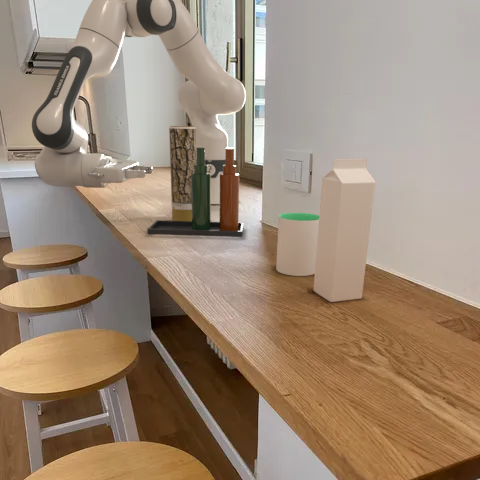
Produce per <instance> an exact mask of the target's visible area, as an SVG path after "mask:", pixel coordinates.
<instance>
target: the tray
mask: <svg viewBox="0 0 480 480" xmlns="http://www.w3.org/2000/svg"><path fill="white" fill-rule="evenodd" d="M244 227H245V223H244V222H238V231H219V221H211V230H192V221H172V220H161V219H160V220H159V219H157V220H155V221H154V222H152V224H151V225H150V226H149V227H148V228H147V230H146V231H147V235H162V236H163V235H165V236H167V235H168V236H195V237H197V236H199V237H200V236H201V237H232V238H233V237H236V238H243V234H244Z"/></svg>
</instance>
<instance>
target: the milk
mask: <svg viewBox="0 0 480 480" xmlns="http://www.w3.org/2000/svg"><path fill="white" fill-rule="evenodd" d="M367 164H368V159H367V158H334V159H333V161H332V169H331V170H330V171H328V173H326V175H324V177H322V179H321V190H320V203H319V214H318V215H319V226H318V239H317V251H316V264H315V274H314V277H313V289H312V290H313V292H314V293H316V294H317V295H319V296H320V297H322V298H323V299H325V300H327V301H328V302H329V303H336V302H337V303H338V302H345V301H352V300H354V301H355V300H360V299H361V300H362V298H363V291H364V281H365V274H366V266H367V256H368V251H369V250H368V249H369V241H370V233H371V223H372V216H373V207H374V198H375V191H376V184H377V183H376V180H375V179H374V177H373V176H372V175H371V173H370V172H369V171H368V169H367Z"/></svg>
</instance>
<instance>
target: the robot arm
mask: <svg viewBox="0 0 480 480" xmlns="http://www.w3.org/2000/svg"><path fill="white" fill-rule="evenodd" d="M150 36H158V37H159V38H160V40H161V42H162V45H163V46H164V48H165V51H166V53H167V54H168V55H169V58H170V59H171V61H172V63H173V64H174V66H175V68H176V70H177V72H178V74H180V75H181V76H182V77H184V78H186V79H187V81H185V82H183V83H182V84H181V85H180V86H179V89H178V97H177V98H178V103H179V105H180V107H181V108H182V109H183V110H184V112H186V114H187V116H188V119H189V121H190V124H191V126H195V128H196V148H197V147H204V148H205V165H207V173H210V174H211V205H220V174H222V173H223V165H225V163H226V148H229V136H228V133H227V132H226V131H225V129H223V127H222V126H221V124H220V121H219V119H218V116H227V115H231V114H235V113H238V112H240V111H241V110H242V109H243V107H244V105H245V102H246V98H247V97H246V96H247V95H246V94H247V93H246V89H245V87H244V84H243V83H242V82H241V81H240V80H239V79H237V78H236V77H234V76H233V75H231V74H229V73H228V71H226V70H225V68H223V66H222V65H221V64H220V63H219V62H218V61H217V60H216V58H215V57H214V56H213V54H212V53H211V51H210V50H209V48H208V46H207V44H206V42H205V40H204V38H203V37H202V34H201V32H200V29H199V28H198V25H197V24H196V22H195V20H194V19H193V17H192V15H191V13H190V11H189V10H188V9H187V7H186V6H185V4H184V3H183V2H182V0H91V2H90V3H89V5H88V7H87V9H86V11H85V13H84V15H83V18H82V20H81V22H80V25H79V28H78V30H77V34H76V37H75V39H74V42H73V45H72V46H71V48H70V50H69V51H68V52H67V54H66V55H65V57H64V59H63V61H62V64H61V66H60V67H59V70H58V72H57V75H56V77H55V79H54V81H53V84H52V86H51V89H50V91H49V93H48V95H47V97H46V99H45V100H44V102H43V103H42V104H41V105H40V106H39V107H38V108H37V110H36V111H35V112H34V114H33V116H32V120H31V131H32V134H33V136H34V138H35V139H36V141H37V142H38V143H39V144H40V145H42V146H43V148H42V149H41V151H40V152H39V153H38V154H37V155H36V156H35V159H34V169H35V172H36V174H37V176H38V179H40V180H41V182H43V183H44V184H45V185H48V186H52V187H58V188H59V187H61V188H75V187H82V188H89V189H92V188H93V189H105V188H107V186H108V184H122V183H124V182H126V181H128V180H131V179H144V178H146V175H151V174H153V173H154V169H153V168H154V167H153V166H146V165H140V162H139V161H136V160H129V159H122V158H113V157H112V156H109V155H107V156H106V155H105V154H104V153H88V148H89V134H88V132H87V130H86V128H85V127H84V126H83V125H82V124H81V122H79V121H78V120H76V119H75V118H74V109H75V107H76V104H77V102H78V100H79V97H80V95H81V92H82V90H83V87H84V86H85V84H86V83H87V81H88V80H89V79H92V78H103V77H105V76H108V75H109V74H111V72H112V71H113V69H114V67H115V65H116V63H117V61H118V59H119V56H120V53H121V50H122V47H123V43H124V40H125V39H126V38H146V37H150ZM196 165H197V155H196Z"/></svg>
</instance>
